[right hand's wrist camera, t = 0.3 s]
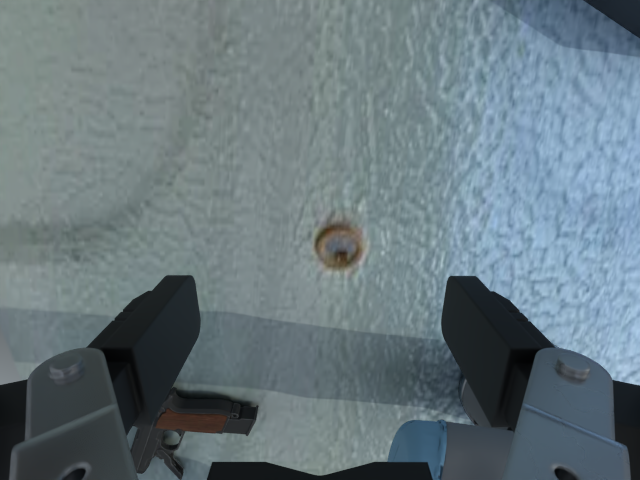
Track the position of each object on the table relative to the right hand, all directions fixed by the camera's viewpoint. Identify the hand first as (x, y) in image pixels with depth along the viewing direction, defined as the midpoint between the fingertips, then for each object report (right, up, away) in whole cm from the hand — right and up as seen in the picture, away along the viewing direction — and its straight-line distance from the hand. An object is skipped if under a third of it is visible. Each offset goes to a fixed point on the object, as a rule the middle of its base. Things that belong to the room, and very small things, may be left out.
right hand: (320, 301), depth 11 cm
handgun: (-20, -27, +40) cm, 52 cm away
